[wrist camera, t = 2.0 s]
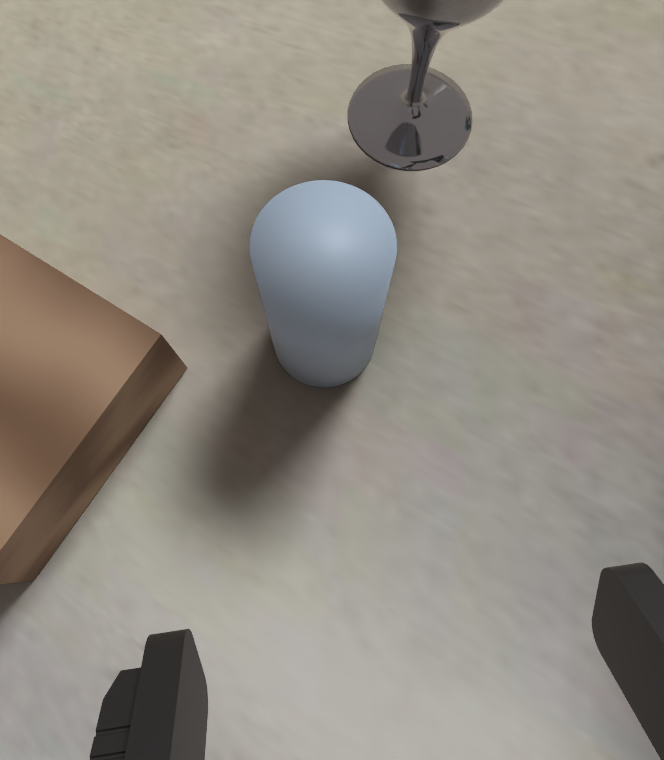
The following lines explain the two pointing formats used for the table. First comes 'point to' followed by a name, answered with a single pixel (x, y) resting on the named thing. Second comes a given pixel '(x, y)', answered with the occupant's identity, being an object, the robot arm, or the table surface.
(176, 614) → the table surface
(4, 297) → the walnut base
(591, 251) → the table surface
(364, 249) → the blue-grey cylinder
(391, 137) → the wine glass
